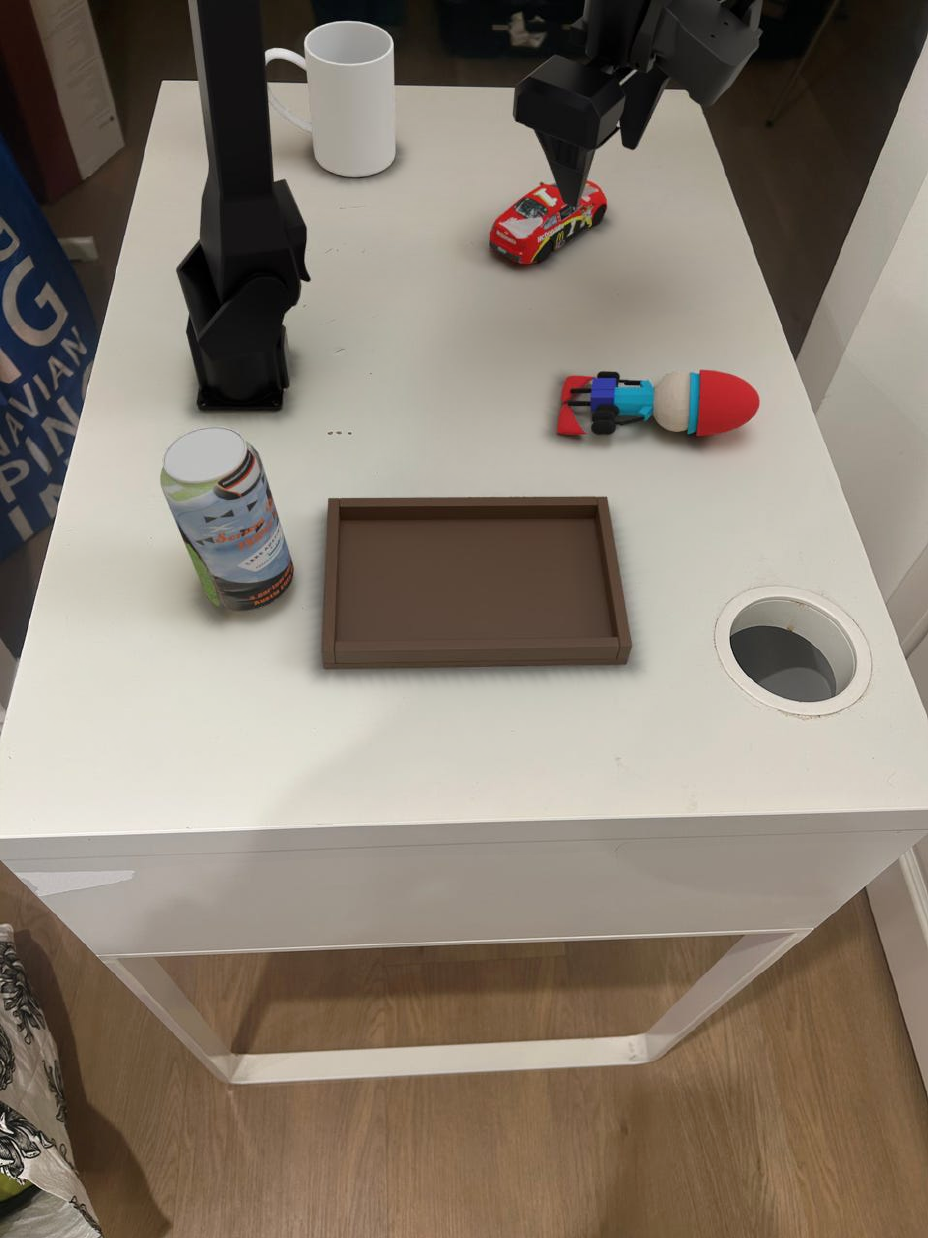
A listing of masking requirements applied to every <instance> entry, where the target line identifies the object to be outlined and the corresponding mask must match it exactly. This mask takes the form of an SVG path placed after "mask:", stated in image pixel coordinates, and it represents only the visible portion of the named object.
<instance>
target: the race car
mask: <svg viewBox="0 0 928 1238" xmlns="http://www.w3.org/2000/svg"><path fill="white" fill-rule="evenodd" d="M607 210H608V201H607V197H606V195H605V193H604V191H603V189H602V188H601V187H600V186H599V185H598V184H597V183H595V182H593V181H590V180H588V179H587V181H586V184H585V188H584V191H583V193H582V196H581V199H580V202H579V204H578V205H577V206H576V207H571V206H569V205H566V204H564V203H563V201H562V198H561V195H560V193H559V190H558V187H557V185H556V182H555V181H554V182H553V183H550V184H548V183H544V182H543V181H540V182H539V186H537V187H535V188H533V189H532V190H530V191H529V192H527V193H526V194H524V195H523V196H522V197H521V198H519V199H518V200H517V201H516V202H514V203H513V204H512V205H511V206H509V208H507V209H506V210H505V211H503V212H502V213H501V214H500V215H498V216H497V217H496V218H495V220H494V221H493V223H492V226H491V227H490V231H489V237H488V239H489V240H488V245H489V247H490V248H489V249H490V250H492V251H495V252H496V253H497V254H499V255H501V256H502V257H504V258H505V259H508V260H510V261H511V262H512V263H517V264H520V265H531V264H535V263H538V262H539V263H543V262H545V261H546V260H548V258H549V257H550V255H551V253H552V252H555V251H556V250H558V249H560V248H561V247H562V246H564V245H565V244H567V243H569V242H570V241H572V240H573V239H574V238H575V237H578V235H581V233H583V232H584V231H586V230H588V229H589V228H590V227H592V226H598V225H599V224H600V223H601V222H602V220H603V219H604V216H605V214H606V212H607Z"/></svg>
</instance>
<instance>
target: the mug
mask: <svg viewBox="0 0 928 1238" xmlns="http://www.w3.org/2000/svg"><path fill="white" fill-rule="evenodd" d="M303 46H304V57H303V56H302V55H300V54H298V53H296V52H295V51H292V50H290V49H286V48H281V47H280V48H279V47H273V48H270V49H267V50H265V59H266V66H267V65H268V63H269V62H271V61H272V60H274V59H277V60H278V59H281V60H285V61H289V62H291V63H293V64H295V65H297V66H298V67H300V68H301V69H303V70H304V71H306V81H307V90H308V91H307V92H308V103H309V113H310V121H308V120H306V119H304V118H302V117H301V116H298V115H297V114H295V113H294V112H292V111H291V110H289V108H287V107H286V106H285V105H284V104H283V103H282V102H281V101H279V99H278V98H277V97H276V96H275V95H274V93H273V91H272V88H270V86H269V84H268V83H269V82H268V81H267V87H268V102H269V105H270V106H271V107H272V109H274V110H275V111H276V112H277V113H278V114H279V115H280V116H281V117H283V118H284V119H285V120H287V121H288V122H290V124H292V125H294V126H295V127H298V128H299V129H301V130H303V131H305V132H307V133H310V134H311V135H312V136H311V137H312V147H313V154H314V158H315V160H316V162H317V163H318V164H319V166H320V167H322V168H323V169H325V170H326V171H327V172H330V173H332V174H334V175H339V176H341V177H347V178H350V177H351V178H359V177H369V176H372V175H376V174H379V173H381V172H382V171H385V170H386V169H388V168H389V167H390V166H391V165H392V163H393V162H394V160H395V157H396V151H397V150H396V147H397V146H396V105H395V104H396V103H395V100H396V98H395V95H396V94H395V53H394V50H395V49H394V48H395V47H394V46H395V45H394V40H393V38H392V36H391V35H390V34H389V32H387V31H386V30H384V29H383V28H381V27H379V26H377V25H374V24H371V23H368V22H362V21H355V20H354V21H353V20H342V21H333V22H329V23H325V24H322V25H319V26H317V27H315V28H313V29H312V30H311V31H309V33H308V34H307V35H306V36H305V37H304V42H303Z"/></svg>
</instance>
